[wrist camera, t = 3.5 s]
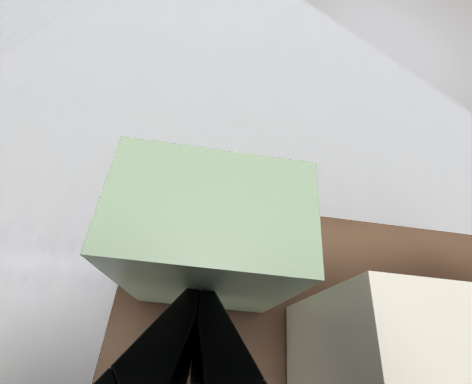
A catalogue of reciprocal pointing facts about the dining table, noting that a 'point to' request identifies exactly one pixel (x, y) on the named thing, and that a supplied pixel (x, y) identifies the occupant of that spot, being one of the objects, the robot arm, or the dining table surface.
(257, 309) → the sage key
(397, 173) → the dining table surface
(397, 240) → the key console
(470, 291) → the cream key
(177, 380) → the robot arm
